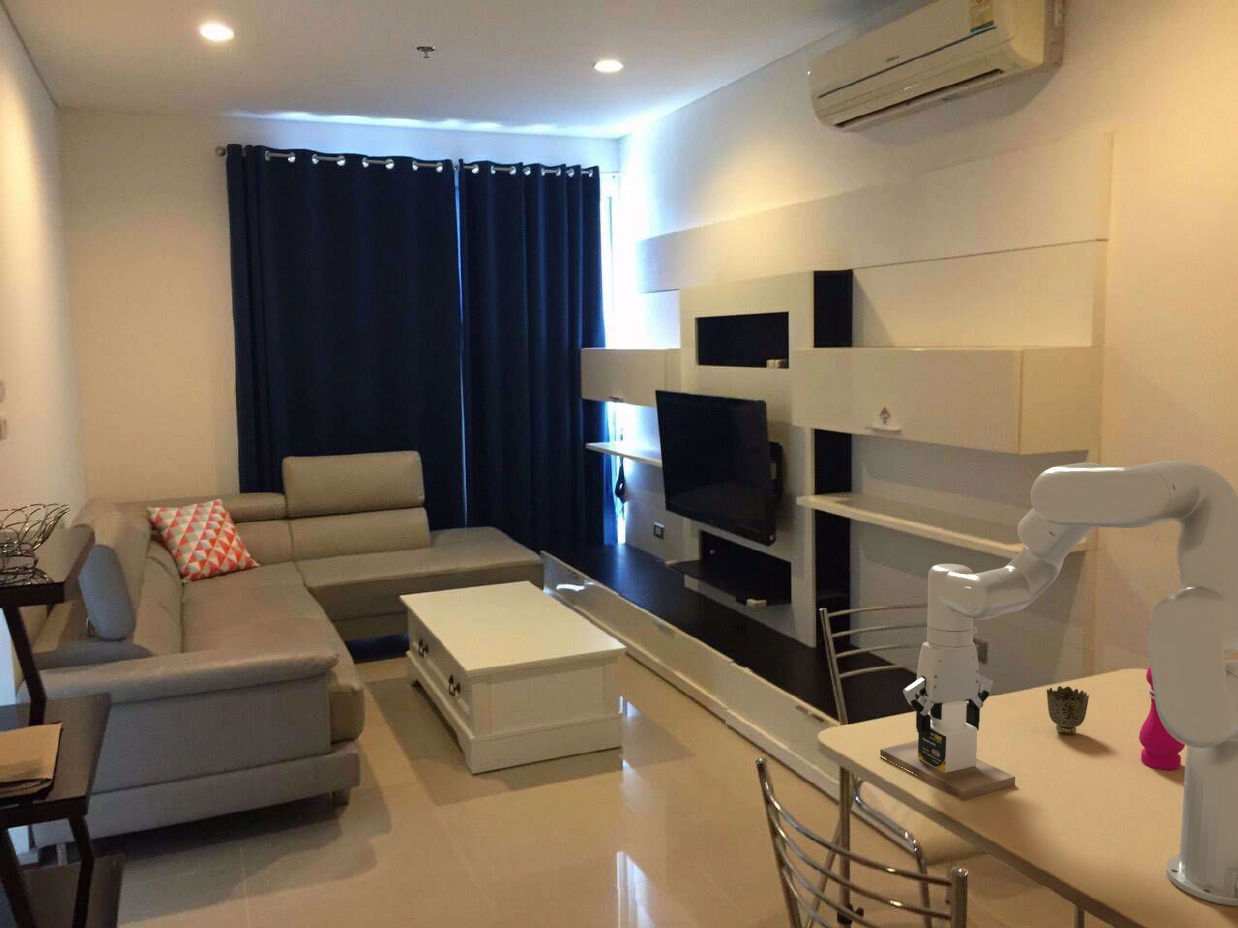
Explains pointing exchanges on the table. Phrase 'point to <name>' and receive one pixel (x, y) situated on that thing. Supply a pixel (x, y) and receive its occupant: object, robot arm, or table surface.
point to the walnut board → (950, 773)
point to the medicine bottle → (949, 738)
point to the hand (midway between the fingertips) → (947, 731)
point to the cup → (1067, 708)
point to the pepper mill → (1158, 739)
